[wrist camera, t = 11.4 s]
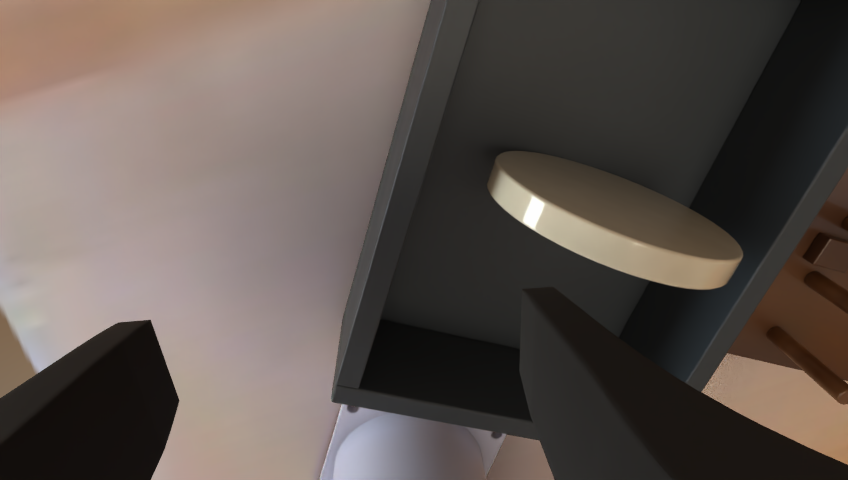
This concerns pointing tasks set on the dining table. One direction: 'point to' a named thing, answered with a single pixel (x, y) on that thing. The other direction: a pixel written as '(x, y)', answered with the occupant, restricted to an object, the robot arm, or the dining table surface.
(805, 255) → the dish rack
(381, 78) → the dining table surface
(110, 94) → the dining table surface
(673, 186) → the dark grey open box
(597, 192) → the saucer
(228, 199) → the dining table surface
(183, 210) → the dining table surface
